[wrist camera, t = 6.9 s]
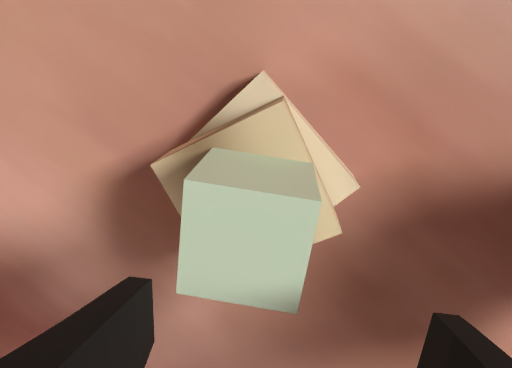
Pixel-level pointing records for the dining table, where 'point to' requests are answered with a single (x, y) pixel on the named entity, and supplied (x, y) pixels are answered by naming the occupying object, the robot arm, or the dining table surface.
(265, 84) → the beech slab bottom
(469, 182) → the dining table surface
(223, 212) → the sage cube
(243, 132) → the beech slab top
